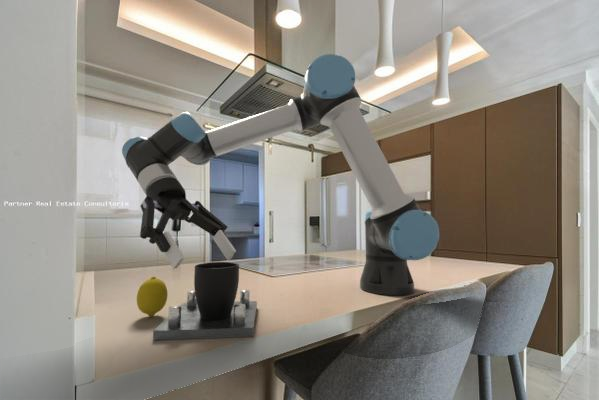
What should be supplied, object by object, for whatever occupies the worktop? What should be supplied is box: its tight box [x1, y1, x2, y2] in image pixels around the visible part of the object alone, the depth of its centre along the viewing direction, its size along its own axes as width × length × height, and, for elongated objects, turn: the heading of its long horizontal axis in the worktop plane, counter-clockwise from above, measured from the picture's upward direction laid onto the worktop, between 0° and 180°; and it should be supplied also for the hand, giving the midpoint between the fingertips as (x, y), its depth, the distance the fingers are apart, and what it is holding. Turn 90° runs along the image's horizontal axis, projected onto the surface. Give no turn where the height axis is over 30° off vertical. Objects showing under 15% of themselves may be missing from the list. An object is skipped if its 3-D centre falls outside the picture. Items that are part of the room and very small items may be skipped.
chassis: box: [152, 288, 258, 341], centre depth 54 cm, size 16×16×4 cm
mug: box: [193, 261, 240, 321], centre depth 55 cm, size 8×12×10 cm
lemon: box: [136, 276, 168, 318], centre depth 57 cm, size 6×6×8 cm
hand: (208, 259), depth 55 cm, fingers open, 13 cm apart
